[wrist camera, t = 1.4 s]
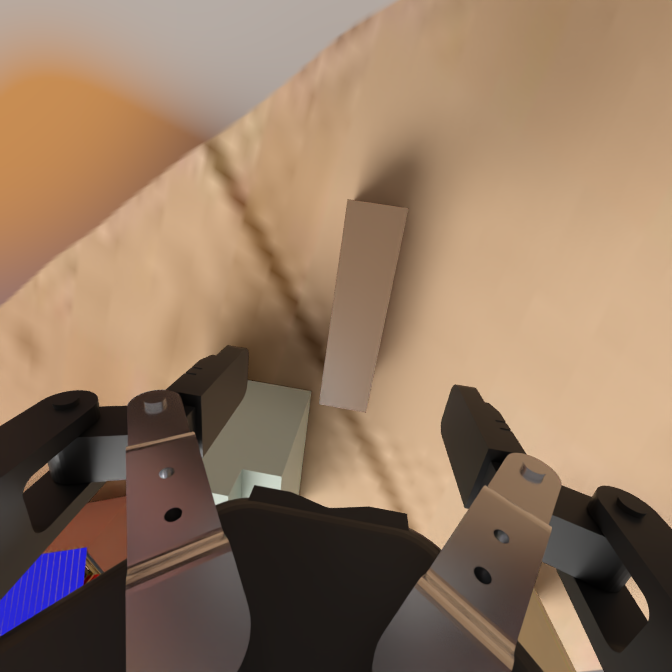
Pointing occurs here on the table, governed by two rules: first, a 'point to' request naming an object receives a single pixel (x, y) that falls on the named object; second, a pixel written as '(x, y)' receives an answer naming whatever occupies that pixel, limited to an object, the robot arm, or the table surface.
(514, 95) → the table surface
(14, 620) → the house
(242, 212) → the table surface
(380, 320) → the long beige cuboid
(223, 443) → the stand
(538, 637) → the coffee cup
